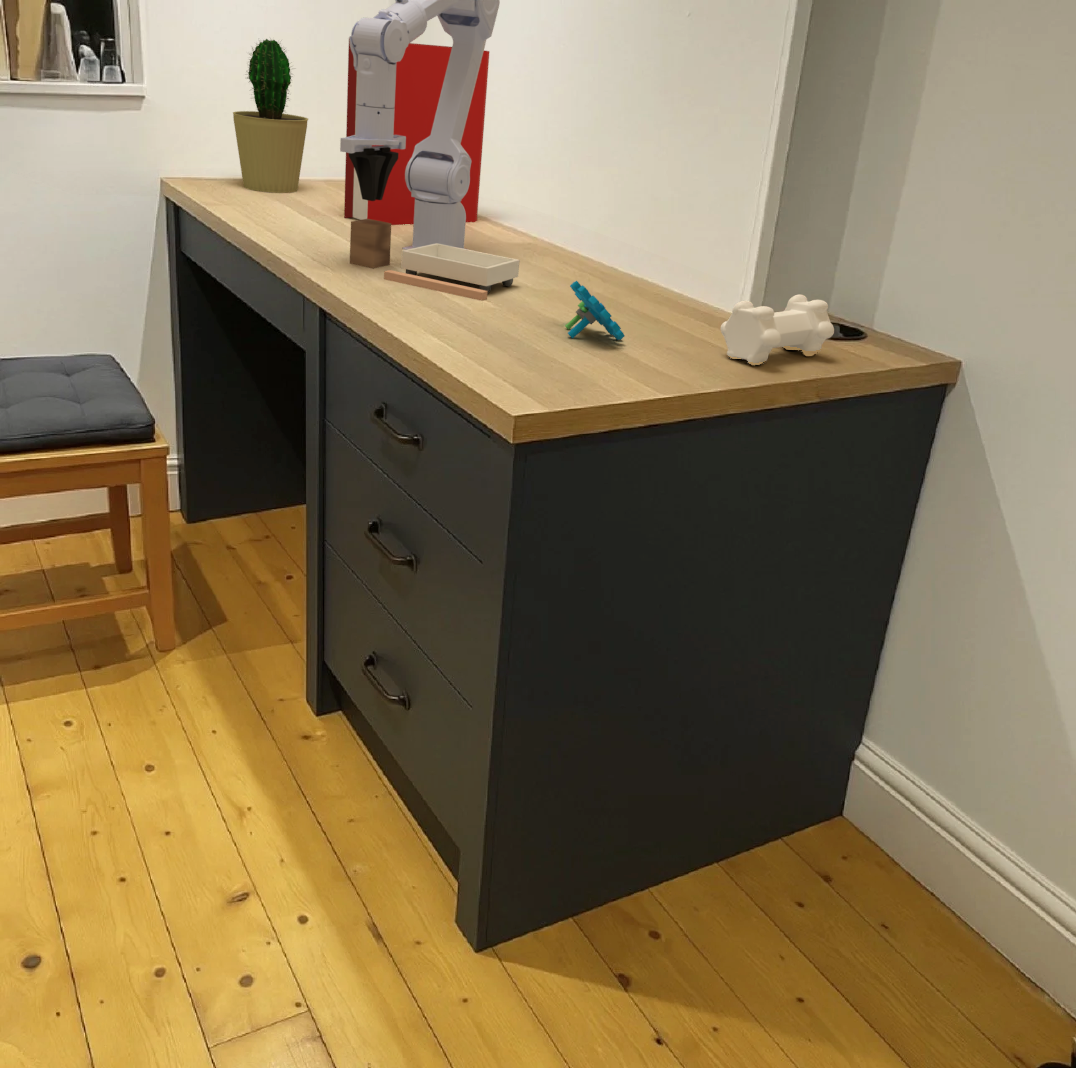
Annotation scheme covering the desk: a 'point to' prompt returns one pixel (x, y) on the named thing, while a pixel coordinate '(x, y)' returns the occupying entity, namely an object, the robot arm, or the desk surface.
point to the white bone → (776, 328)
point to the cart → (460, 265)
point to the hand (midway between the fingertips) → (372, 199)
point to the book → (416, 132)
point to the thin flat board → (435, 285)
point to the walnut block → (370, 243)
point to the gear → (591, 314)
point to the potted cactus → (270, 125)
